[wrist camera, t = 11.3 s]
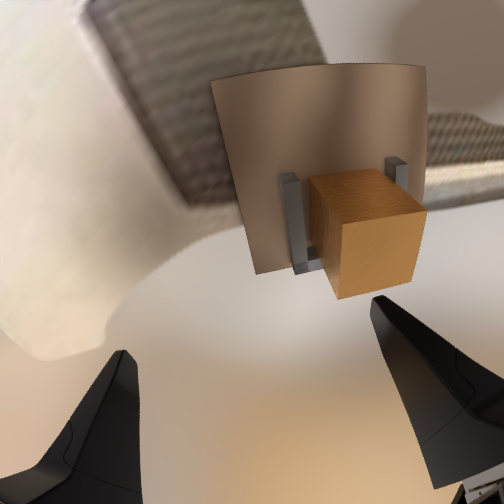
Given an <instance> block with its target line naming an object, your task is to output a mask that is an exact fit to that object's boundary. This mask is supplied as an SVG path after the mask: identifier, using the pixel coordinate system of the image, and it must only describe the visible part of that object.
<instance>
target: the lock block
mask: <svg viewBox="0 0 504 504" xmlns="http://www.w3.org/2000/svg"><path fill="white" fill-rule="evenodd" d="M308 188H309V209H310V237H311V243H312V245H313V247H314V249H315V251H316V253H317V255H318V258H319V260H320V262H321V264H322V266H323V268H324V270H325V272H326V275H327V277H328V279H329V282H330V284H331V286H332V288H333V291H334V293H335V295H336V297H337V299H343V298H347V297H352V296H356V295H360V294H365V293H369V292H373V291H377V290H381V289H385V288H389V287H393V286H397V285H401V284H404V283H408V282H411V279H412V276H413V272H414V268H415V265H416V261H417V257H418V253H419V248H420V244H421V240H422V235H423V230H424V226H425V221H426V216H427V210H426V209H425V208H424V207H423V206H422V205H420V204H419V203H418V202H417V201H416V200H415V199H414V198H413V197H411V196H410V195H409V194H408V193H407V192H406V191H404V190H403V189H402V188H401V187H400V186H398V185H397V184H396V183H395V182H394V181H392V180H391V179H390V178H389V177H387V176H386V175H385V174H384V173H382V172H381V171H380V170H379V169H377V168H376V169H365V170H356V171H346V172H338V173H329V174H321V175H314V176H308Z"/></svg>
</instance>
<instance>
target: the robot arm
mask: <svg viewBox="0 0 504 504" xmlns="http://www.w3.org/2000/svg"><path fill="white" fill-rule="evenodd" d="M370 317H371V321H372V323H373V327H374V330H375V333H376V335H377V339H378V342H379V345H380V348H381V351H382V354H383V357H384V359H385V361H386V363H387V366H388V368H389V370H390V372H391V375H392V377H393V380H394V382H395V384H396V387H397V389H398V392H399V394H400V396H401V398H402V401H403V404H404V406H405V408H406V411H407V414H408V416H409V418H410V421H411V424H412V427H413V429H414V432H415V434H416V437H417V440H418V443H419V445H420V448H421V451H422V454H423V457H424V459H425V463H426V466H427V469H428V472H429V475H430V478H431V481H432V484H433V487H434V489H438V488H441V487H445V486H447V485H450V484H453V483H456V482H459V481H462V482H463V483H462V484H461V485H460V487H459V489H458V491H457V493H456V495H455V497H454V499H453V501H452V503H451V504H504V379H503V378H501V377H499V376H498V375H496V374H494V373H493V372H491V371H489V370H488V369H486V368H484V367H483V366H481V365H480V364H478V363H477V362H475V361H474V360H472V359H471V358H469V357H468V356H466V355H465V354H464V353H463V352H461V351H460V350H459V349H457V348H455V347H454V346H453V345H452V344H451V343H449V342H447V340H445V339H444V338H443V337H441V336H440V335H439V334H437V333H436V332H434V331H433V330H432V329H430V328H429V327H428V326H426V325H425V324H424V323H422V322H421V321H419V320H418V319H417V318H415V317H414V316H413V315H411V314H410V313H408V312H407V311H405V310H404V309H403V308H401V307H400V306H398V305H397V304H395V303H394V302H393V301H391V300H390V299H389V298H387V297H386V296H384V295H380V296H377V297H374V298H373V299H372V303H371V309H370ZM139 414H140V397H139V383H138V367H137V363H136V361H135V360H134V359H133V357H132V356H131V355H130V354H129V353H128V352H127V351H126V350H117V351H115V352H114V354H113V355H112V356H111V358H110V359H109V361H108V362H107V363H106V365H105V366H104V368H103V369H102V371H101V372H100V374H99V375H98V377H97V378H96V379H95V381H94V382H93V384H92V385H91V387H90V388H89V390H88V391H87V393H86V394H85V396H84V397H83V399H82V401H81V402H80V403H79V405H78V407H77V408H76V410H75V411H74V413H73V414H72V416H71V417H70V420H68V422H67V423H66V425H65V427H64V428H63V430H62V431H61V433H60V434H59V436H58V437H57V438H56V440H55V441H54V443H53V444H52V445H51V447H50V448H49V449H48V451H47V452H46V453H45V455H44V456H43V457H42V459H41V460H40V461H39V462H38V464H36V465H35V466H34V467H32V468H30V469H28V470H25V471H22V472H20V473H17V474H14V475H11V476H8V477H5V478H2V479H0V504H143V499H142V488H141V471H140V443H139V442H140V440H139V439H140V435H139V422H140V420H139V418H140V415H139Z"/></svg>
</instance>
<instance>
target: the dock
mask: <svg viewBox="0 0 504 504" xmlns="http://www.w3.org/2000/svg"><path fill="white" fill-rule="evenodd" d="M210 83H211V87H212V92H213V96H214V100H215V104H216V109H217V113H218V117H219V121H220V126H221V130H222V134H223V138H224V143H225V147H226V151H227V155H228V159H229V164H230V168H231V172H232V176H233V181H234V185H235V189H236V193H237V197H238V202H239V206H240V210H241V214H242V218H243V223H244V227H245V231H246V235H247V239H248V243H249V248H250V252H251V256H252V260H253V265H254V269H255V273H256V275H257V274H261V273H267V272H271V271H276V270H280V269H285V268H289V267H293V270H294V273H295V275H298V274H302V273H306V272H311V271H315V270H320V269H324V268H323V266H322V264H321V262H320V260H319V258H318V255H317V253H316V251H315V249H314V247H313V245H312V243H311V237H310V209H309V188H308V176H314V175H321V174H329V173H338V172H346V171H356V170H365V169H376V168H377V169H379V170H380V171H381V172H382V173H384V174H385V175H386V176H387V177H389V178H390V179H391V180H392V181H394V182H395V183H396V184H397V185H398V186H400V187H401V188H402V189H403V190H404V191H406V192H407V193H408V194H409V195H410V196H411V197H413V198H414V199H415V200H416V201H417V202H418V203H419V204H420V205H422V202H423V193H424V183H425V171H426V156H427V122H428V116H427V85H426V69H425V67H422V66H416V65H405V64H385V63H383V64H382V63H342V64H321V65H308V66H298V67H288V68H280V69H273V70H266V71H259V72H253V73H248V74H242V75H237V76H232V77H227V78H222V79H218V80H213V81H211V82H210Z"/></svg>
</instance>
